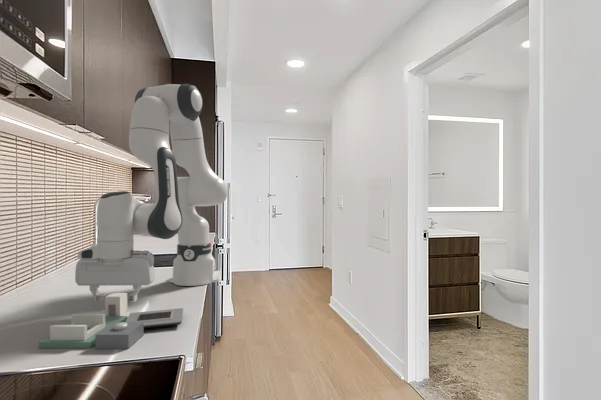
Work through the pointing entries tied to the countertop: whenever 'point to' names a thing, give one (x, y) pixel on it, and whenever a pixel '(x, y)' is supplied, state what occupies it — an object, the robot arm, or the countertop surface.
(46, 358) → the countertop surface
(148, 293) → the countertop surface
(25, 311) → the countertop surface
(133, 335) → the grey push button
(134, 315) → the electrical outlet
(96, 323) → the board
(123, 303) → the plug
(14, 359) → the countertop surface
